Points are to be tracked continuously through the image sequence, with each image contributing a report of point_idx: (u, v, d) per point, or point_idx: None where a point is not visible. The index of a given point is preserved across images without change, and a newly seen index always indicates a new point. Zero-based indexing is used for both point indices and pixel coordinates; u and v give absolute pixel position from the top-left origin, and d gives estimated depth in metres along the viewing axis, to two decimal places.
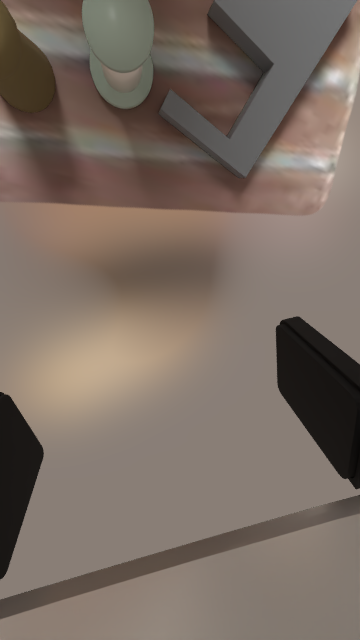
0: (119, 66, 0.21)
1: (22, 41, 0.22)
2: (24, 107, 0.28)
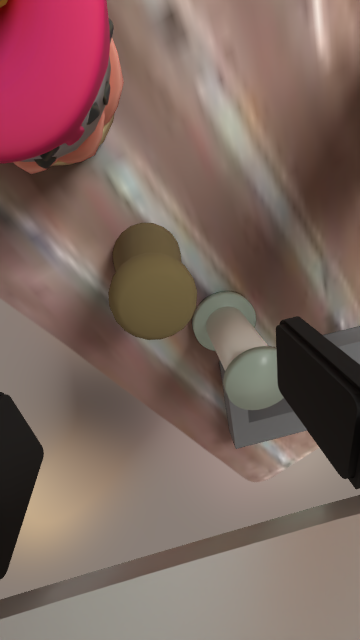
0: (233, 401, 0.20)
1: None
2: None
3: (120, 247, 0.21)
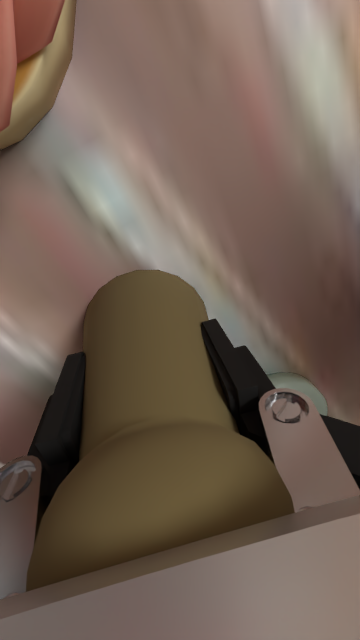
0: None
1: None
2: None
3: (93, 331, 0.10)
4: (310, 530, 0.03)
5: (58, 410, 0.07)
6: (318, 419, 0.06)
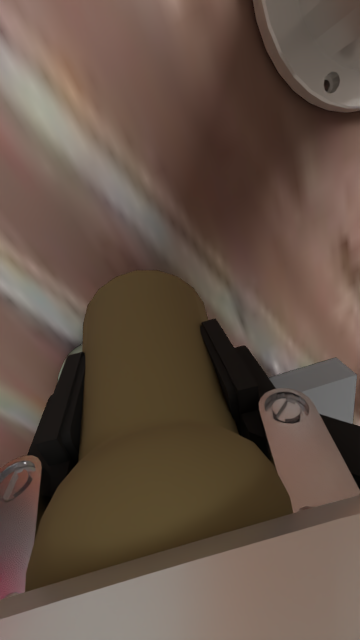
0: None
1: None
2: None
3: (92, 331, 0.10)
4: (310, 530, 0.03)
5: (58, 410, 0.07)
6: (318, 419, 0.06)
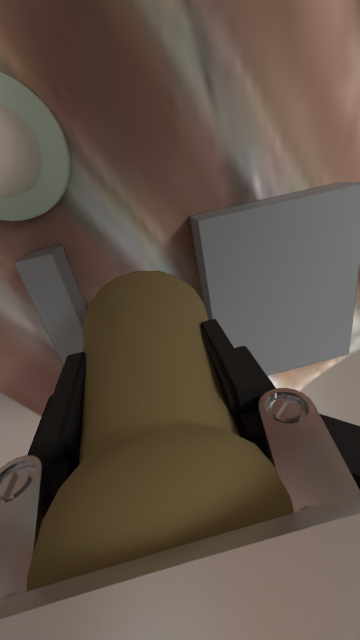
0: None
1: None
2: None
3: (93, 332, 0.10)
4: (310, 530, 0.03)
5: (58, 410, 0.07)
6: (318, 419, 0.06)
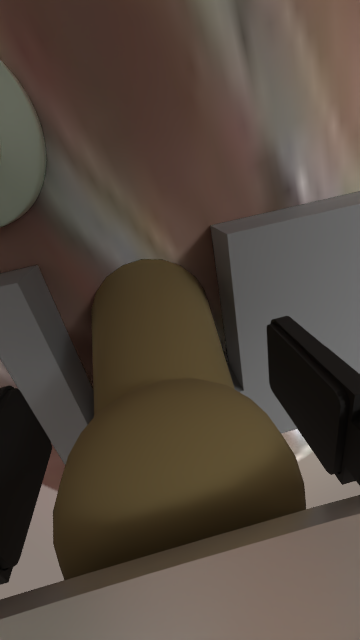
0: None
1: None
2: None
3: (102, 313, 0.11)
4: (310, 530, 0.03)
5: None
6: None
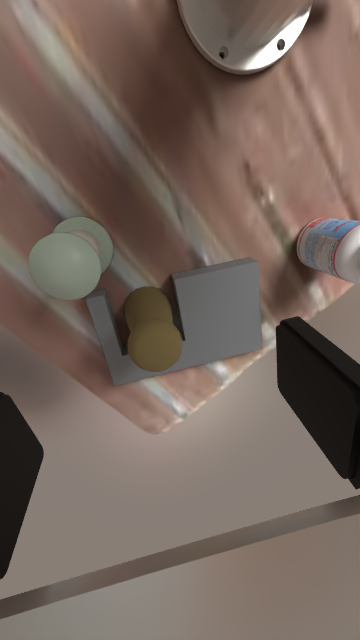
0: (42, 288, 0.21)
1: None
2: None
3: (131, 306, 0.31)
4: (310, 530, 0.03)
5: None
6: None
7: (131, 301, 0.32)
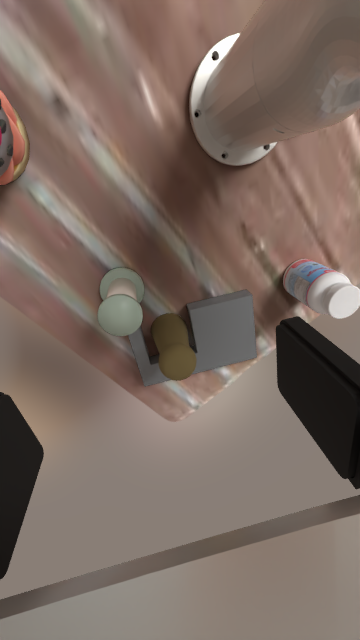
0: (105, 329, 0.33)
1: None
2: None
3: (157, 330, 0.42)
4: (310, 530, 0.03)
5: None
6: None
7: (157, 326, 0.43)
